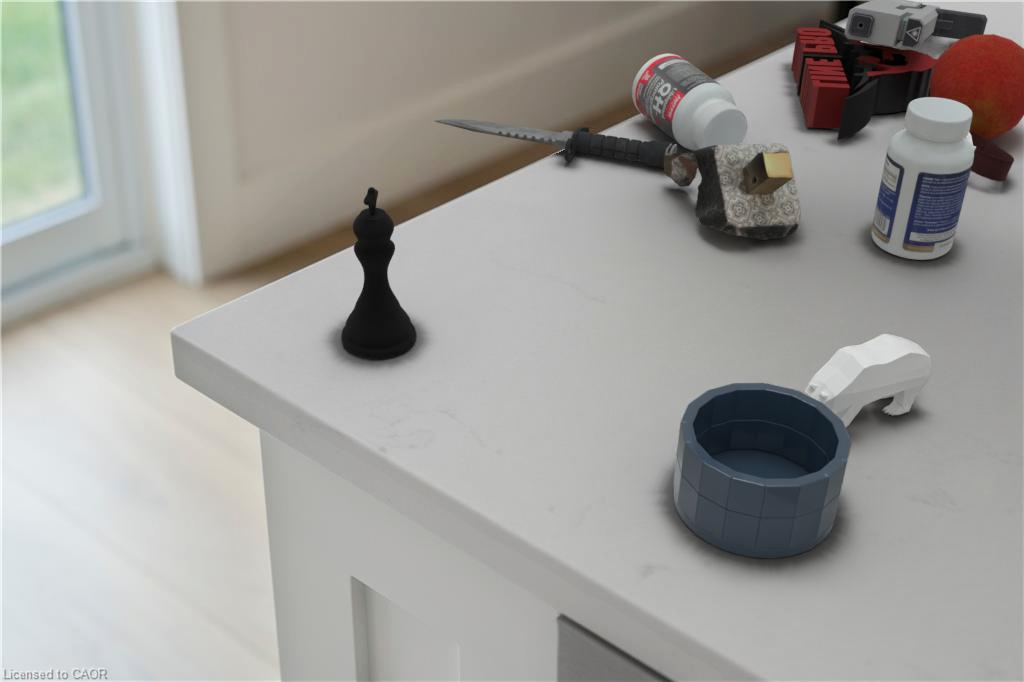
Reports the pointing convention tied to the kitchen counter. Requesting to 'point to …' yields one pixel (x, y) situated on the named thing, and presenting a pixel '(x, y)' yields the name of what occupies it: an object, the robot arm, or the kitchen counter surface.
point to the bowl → (760, 469)
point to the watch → (989, 158)
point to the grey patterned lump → (741, 188)
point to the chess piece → (376, 291)
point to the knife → (576, 141)
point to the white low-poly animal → (872, 376)
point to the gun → (909, 23)
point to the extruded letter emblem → (854, 78)
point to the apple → (983, 81)
